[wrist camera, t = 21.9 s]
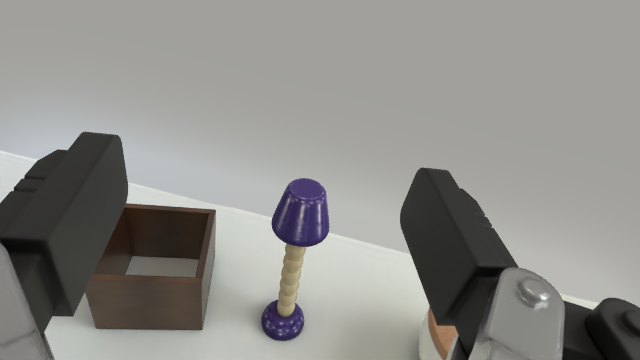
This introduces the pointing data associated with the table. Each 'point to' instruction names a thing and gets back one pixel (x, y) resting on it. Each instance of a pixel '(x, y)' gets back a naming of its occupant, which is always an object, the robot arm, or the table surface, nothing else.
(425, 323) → the trinket box
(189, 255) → the open wooden box
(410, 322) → the table surface
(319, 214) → the toy lamp
